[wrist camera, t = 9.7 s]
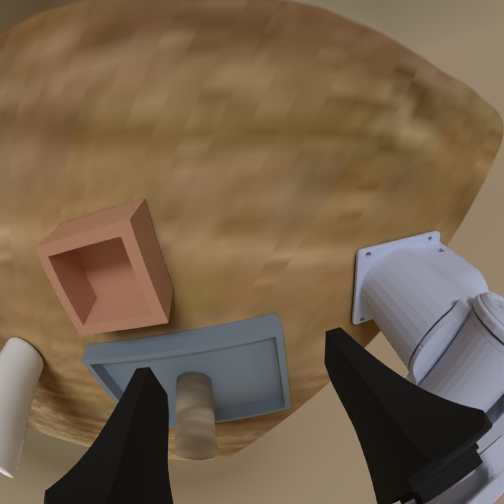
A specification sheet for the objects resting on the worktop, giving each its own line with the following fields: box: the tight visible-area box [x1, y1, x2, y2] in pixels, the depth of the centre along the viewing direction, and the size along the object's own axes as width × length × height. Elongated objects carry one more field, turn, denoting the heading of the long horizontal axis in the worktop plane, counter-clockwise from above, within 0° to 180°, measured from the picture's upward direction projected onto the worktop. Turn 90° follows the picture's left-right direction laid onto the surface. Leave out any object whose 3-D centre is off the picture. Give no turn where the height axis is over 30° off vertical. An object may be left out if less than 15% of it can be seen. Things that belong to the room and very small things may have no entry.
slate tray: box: [82, 313, 291, 428], centre depth 24 cm, size 18×13×2 cm
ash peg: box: [175, 371, 218, 460], centre depth 21 cm, size 4×4×8 cm
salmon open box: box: [35, 199, 173, 335], centre depth 17 cm, size 7×7×4 cm
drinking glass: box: [0, 337, 44, 478], centre depth 15 cm, size 7×7×15 cm
